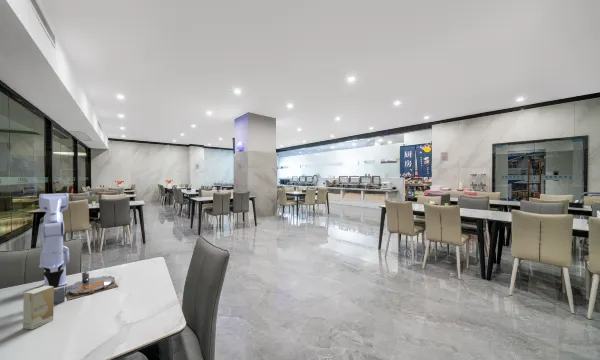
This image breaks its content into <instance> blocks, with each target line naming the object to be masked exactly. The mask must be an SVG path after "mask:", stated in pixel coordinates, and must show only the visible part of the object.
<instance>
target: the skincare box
mask: <svg viewBox="0 0 600 360" xmlns="http://www.w3.org/2000/svg"><path fill="white" fill-rule="evenodd" d="M54 289H55V288H54V286H40V287H37V288H33V289H31V290H28V291H25V292H23V304H22V305H23V308H22V309H23V311H22V312H23V314H22V328H23V329H25V330H34V329H36V328H39V327H41V326H43V325H45V324H48V323H49V322H51V321H53V320H54Z"/></svg>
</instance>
